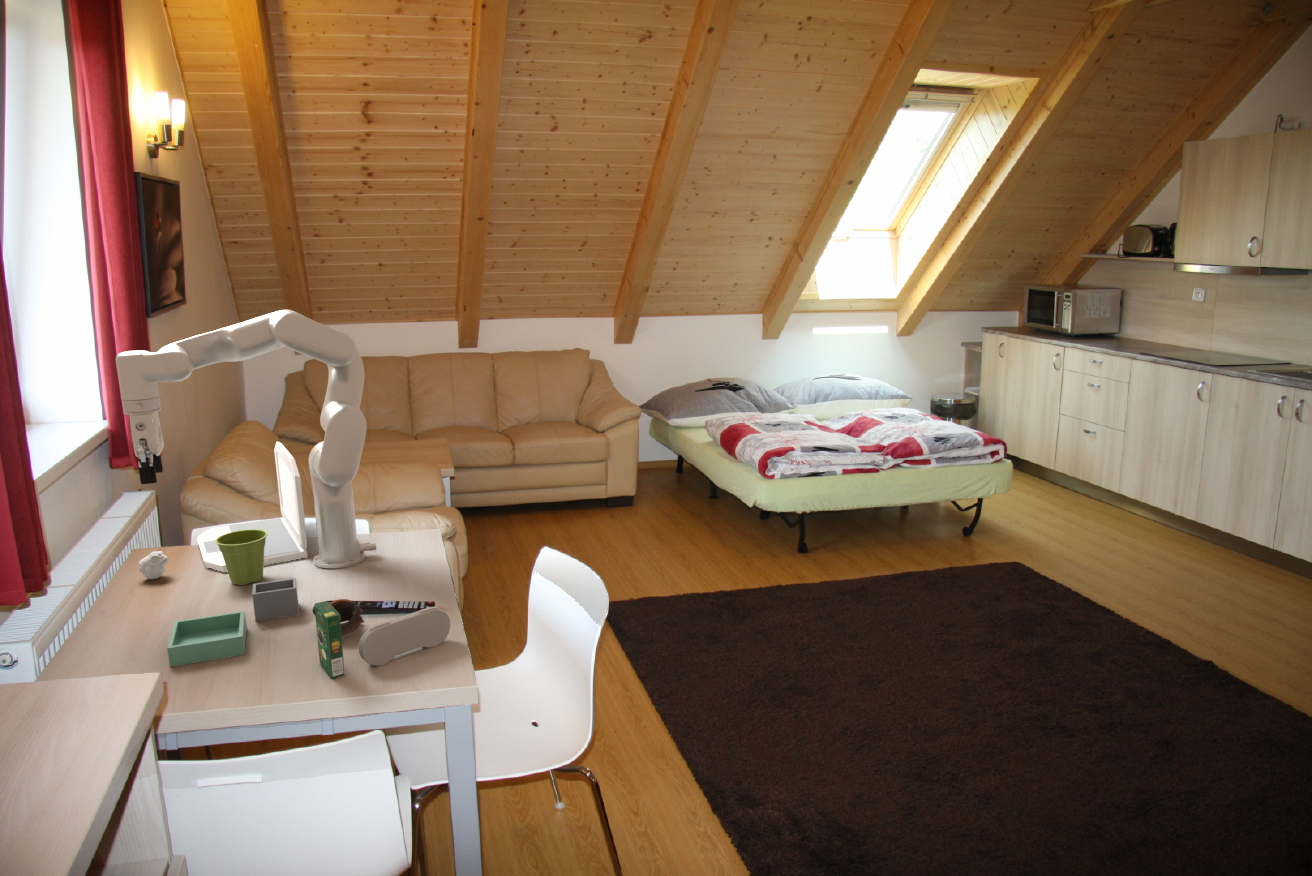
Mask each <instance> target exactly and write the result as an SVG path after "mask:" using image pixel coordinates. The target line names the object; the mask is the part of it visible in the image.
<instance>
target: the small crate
mask: <svg viewBox="0 0 1312 876" xmlns="http://www.w3.org/2000/svg"><path fill="white" fill-rule="evenodd" d="M251 595H252V602H253V610H254V611H253V612H254V619H255V622H261V621H266V620H272V619H279V618H280V619H281V618H286V617H293V616H299V615H300V608H299V607H300V606H299V596H298V587H297V577H294V578H287V579H280V580H279V579H278V580H273V581H271V580H270V581H266V582H258V583H257V582H256V583H253V584H252V593H251Z"/></svg>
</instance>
